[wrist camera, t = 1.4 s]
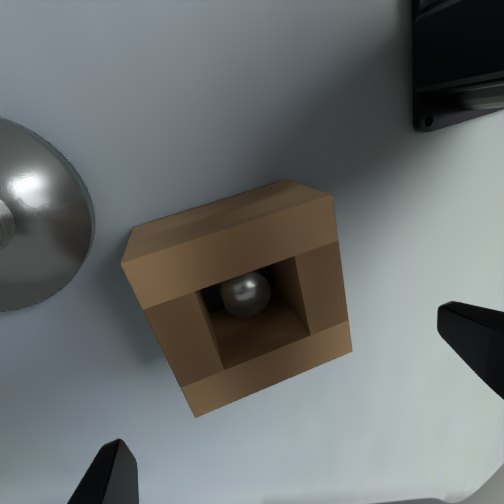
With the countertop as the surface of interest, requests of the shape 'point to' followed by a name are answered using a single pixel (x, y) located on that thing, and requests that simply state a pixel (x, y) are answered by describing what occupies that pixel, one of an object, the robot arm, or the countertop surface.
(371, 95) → the countertop surface
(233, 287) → the grey metal cylinder
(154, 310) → the wooden square frame
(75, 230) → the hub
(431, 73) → the robot arm
